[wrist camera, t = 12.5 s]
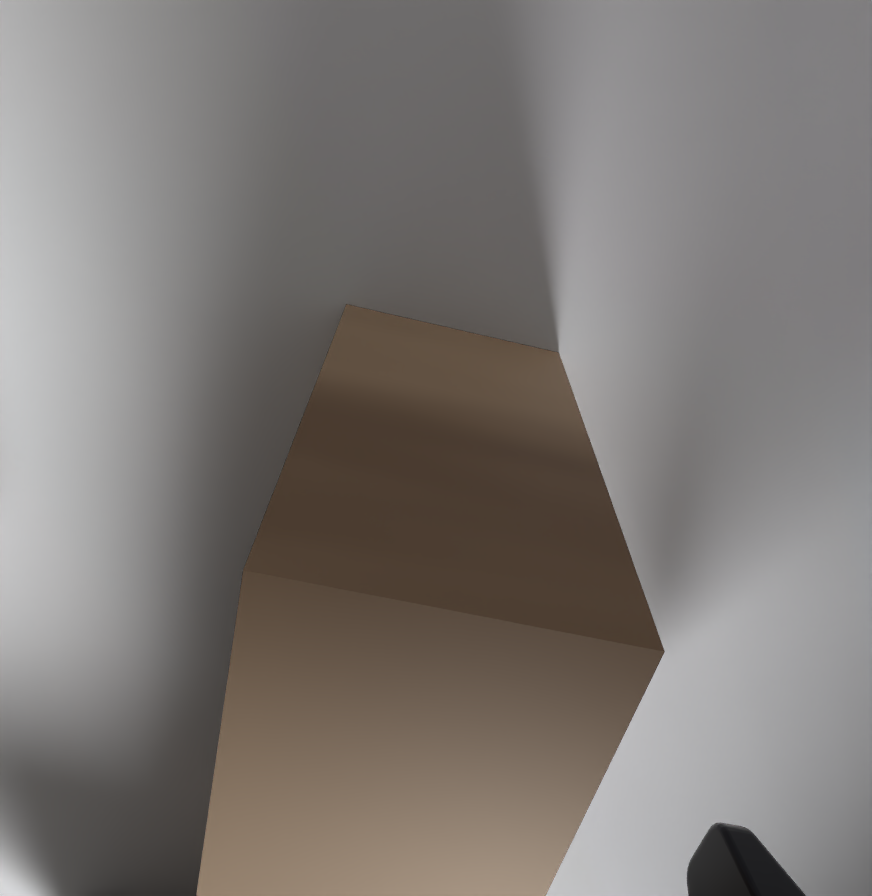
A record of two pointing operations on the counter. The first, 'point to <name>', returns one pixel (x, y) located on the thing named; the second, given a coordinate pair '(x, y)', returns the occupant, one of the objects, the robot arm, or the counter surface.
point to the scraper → (426, 631)
